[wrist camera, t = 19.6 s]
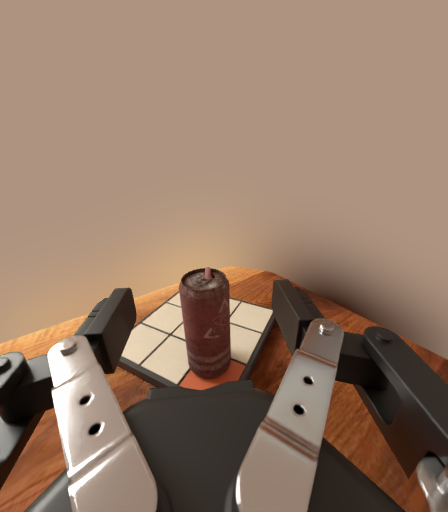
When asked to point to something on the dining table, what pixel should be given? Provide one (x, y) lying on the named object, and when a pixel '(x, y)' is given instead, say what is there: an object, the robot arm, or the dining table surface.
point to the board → (175, 353)
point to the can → (206, 321)
